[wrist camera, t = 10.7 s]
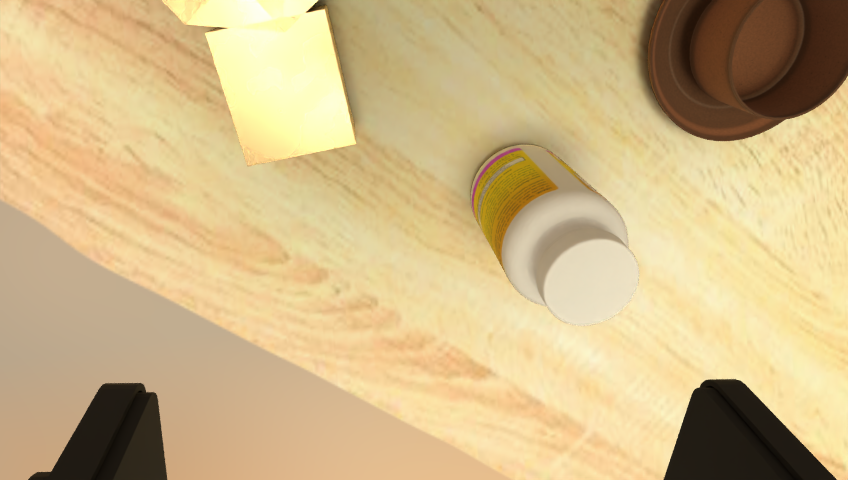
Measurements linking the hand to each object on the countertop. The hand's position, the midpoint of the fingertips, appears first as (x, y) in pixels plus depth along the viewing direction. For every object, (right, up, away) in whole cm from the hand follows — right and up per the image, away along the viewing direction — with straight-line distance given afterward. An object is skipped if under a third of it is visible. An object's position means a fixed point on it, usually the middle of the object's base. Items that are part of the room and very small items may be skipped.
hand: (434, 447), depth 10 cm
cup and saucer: (+19, +16, +27) cm, 37 cm away
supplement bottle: (+6, +7, +29) cm, 31 cm away
